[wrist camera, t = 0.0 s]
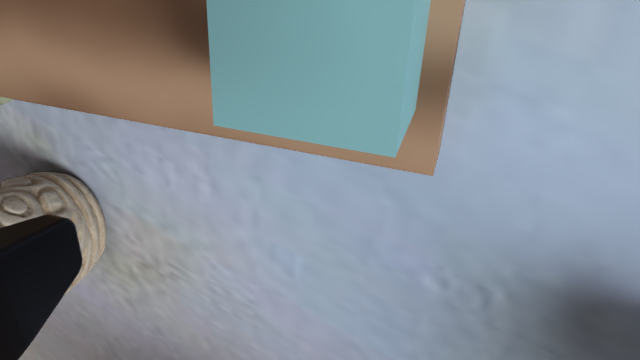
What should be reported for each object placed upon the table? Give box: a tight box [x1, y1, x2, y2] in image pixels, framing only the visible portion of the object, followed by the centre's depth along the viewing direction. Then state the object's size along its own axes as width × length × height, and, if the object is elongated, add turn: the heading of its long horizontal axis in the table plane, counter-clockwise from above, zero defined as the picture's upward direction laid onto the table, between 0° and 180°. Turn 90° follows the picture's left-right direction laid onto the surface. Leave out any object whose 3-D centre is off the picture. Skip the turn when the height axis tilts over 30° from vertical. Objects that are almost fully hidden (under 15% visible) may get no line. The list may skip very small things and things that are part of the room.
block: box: [206, 0, 431, 158], centre depth 17 cm, size 5×6×4 cm
